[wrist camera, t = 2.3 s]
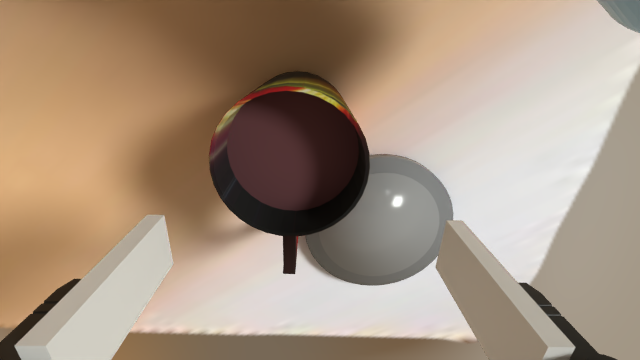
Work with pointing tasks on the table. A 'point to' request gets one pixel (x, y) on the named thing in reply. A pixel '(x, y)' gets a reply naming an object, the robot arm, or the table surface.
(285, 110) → the mug
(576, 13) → the table surface
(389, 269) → the plate
